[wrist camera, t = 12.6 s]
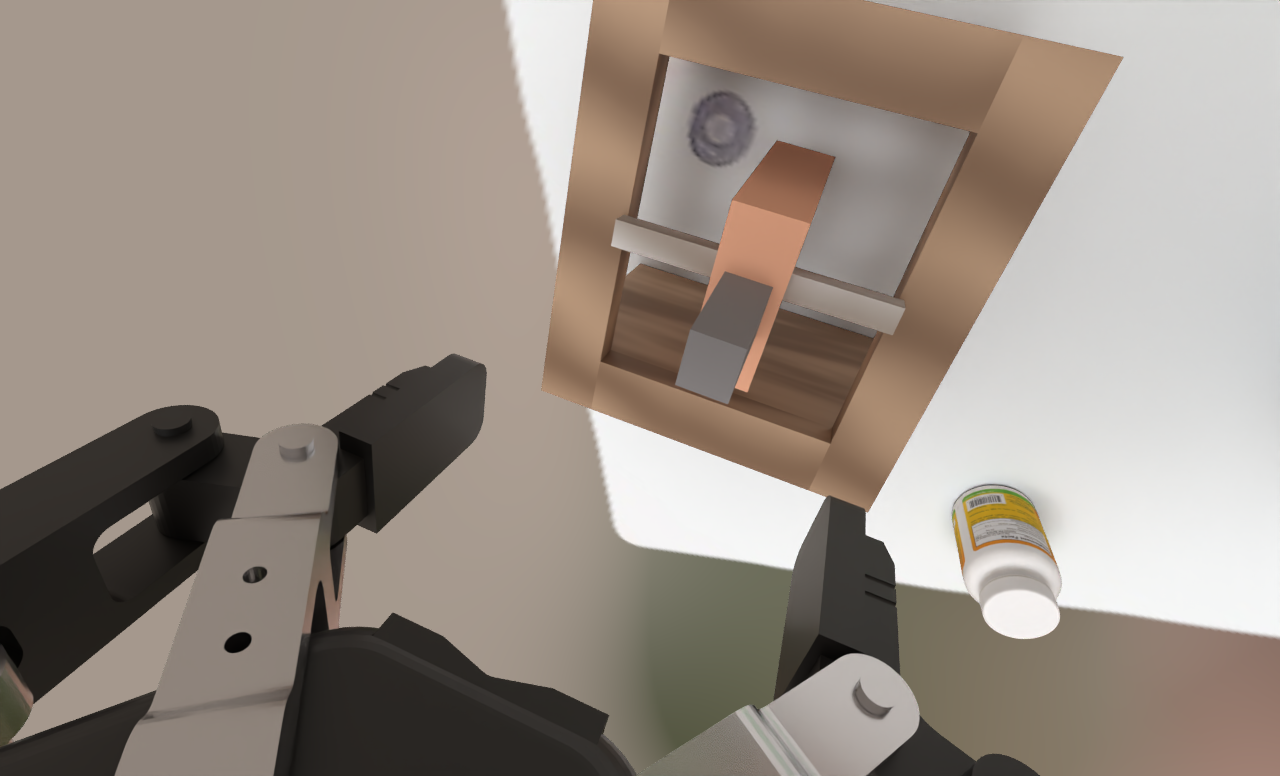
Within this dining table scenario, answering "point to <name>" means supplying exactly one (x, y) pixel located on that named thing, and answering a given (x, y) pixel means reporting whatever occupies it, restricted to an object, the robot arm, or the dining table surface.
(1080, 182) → the dining table surface
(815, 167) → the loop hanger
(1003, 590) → the supplement bottle
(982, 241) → the wooden frame stand
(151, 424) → the robot arm
